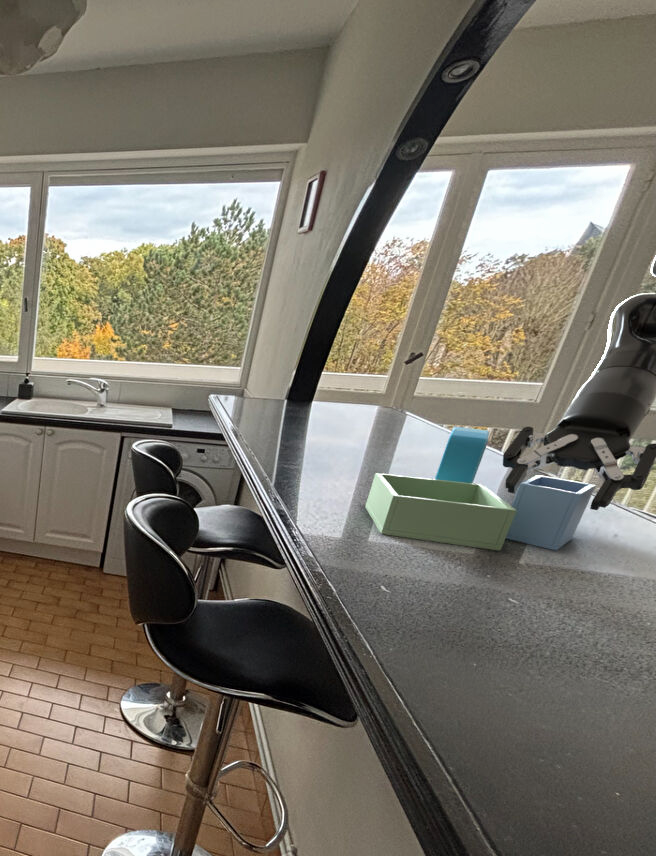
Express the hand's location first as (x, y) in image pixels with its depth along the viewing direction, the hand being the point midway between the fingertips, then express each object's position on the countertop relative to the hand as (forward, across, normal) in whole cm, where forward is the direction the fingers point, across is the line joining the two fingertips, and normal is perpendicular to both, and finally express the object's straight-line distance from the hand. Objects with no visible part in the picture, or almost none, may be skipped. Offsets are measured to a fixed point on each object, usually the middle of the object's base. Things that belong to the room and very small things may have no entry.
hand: (551, 498), depth 82 cm
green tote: (+10, -10, -2) cm, 14 cm away
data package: (-1, -13, +10) cm, 16 cm away
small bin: (+4, 0, +4) cm, 6 cm away
